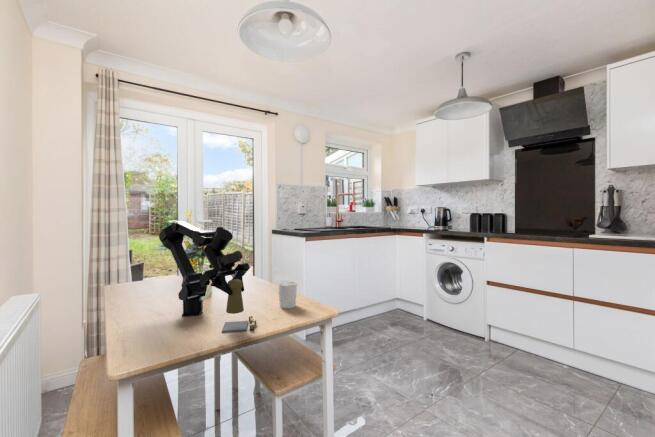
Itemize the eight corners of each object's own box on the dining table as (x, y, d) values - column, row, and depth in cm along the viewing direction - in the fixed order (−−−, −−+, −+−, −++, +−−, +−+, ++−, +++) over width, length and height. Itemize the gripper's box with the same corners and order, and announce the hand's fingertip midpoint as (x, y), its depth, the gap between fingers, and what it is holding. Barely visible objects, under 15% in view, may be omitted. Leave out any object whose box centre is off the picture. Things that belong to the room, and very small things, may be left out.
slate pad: (221, 332, 102) (221, 330, 102) (225, 323, 110) (225, 322, 110) (246, 330, 103) (246, 329, 103) (247, 322, 111) (247, 320, 111)
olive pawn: (246, 308, 109) (246, 278, 108) (238, 314, 103) (238, 282, 102) (231, 307, 110) (231, 277, 110) (222, 312, 104) (222, 281, 104)
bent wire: (247, 331, 103) (247, 326, 103) (249, 320, 113) (249, 316, 113) (255, 330, 104) (255, 325, 104) (256, 320, 113) (256, 315, 113)
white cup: (293, 309, 125) (293, 285, 125) (275, 308, 127) (275, 284, 126) (299, 303, 133) (299, 281, 133) (282, 302, 134) (282, 280, 134)
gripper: (204, 246, 100) (227, 284, 94) (246, 241, 116) (268, 273, 110) (189, 267, 104) (210, 305, 99) (232, 259, 120) (252, 291, 115)
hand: (237, 292), depth 106 cm, fingers closed on olive pawn, 5 cm apart
